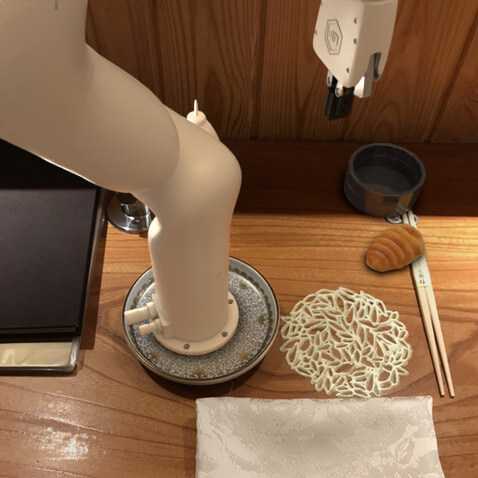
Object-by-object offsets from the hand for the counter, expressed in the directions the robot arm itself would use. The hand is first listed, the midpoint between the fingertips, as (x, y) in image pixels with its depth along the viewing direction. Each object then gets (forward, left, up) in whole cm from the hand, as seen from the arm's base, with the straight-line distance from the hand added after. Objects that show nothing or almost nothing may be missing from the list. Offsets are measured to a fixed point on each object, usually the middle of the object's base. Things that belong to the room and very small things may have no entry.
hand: (335, 115), depth 76 cm
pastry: (+8, -12, -19) cm, 24 cm away
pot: (+12, +1, -19) cm, 23 cm away
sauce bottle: (-16, +10, -10) cm, 22 cm away
